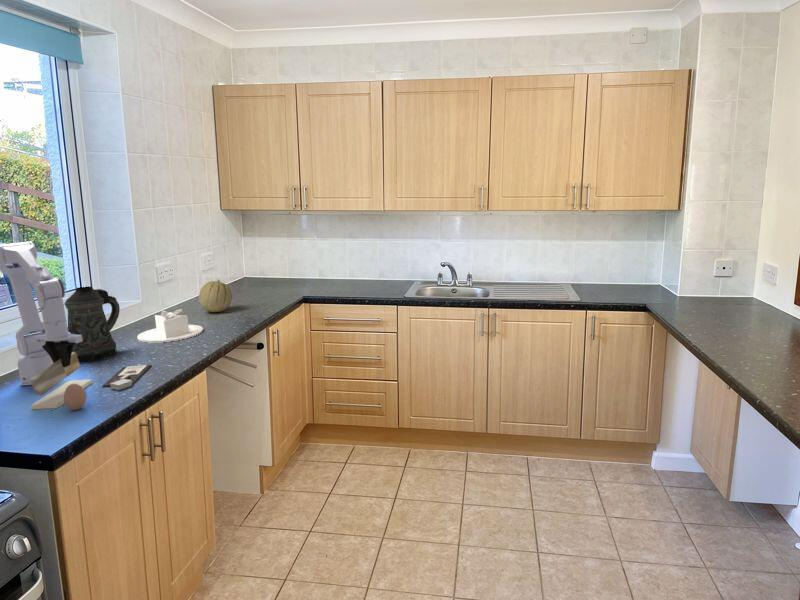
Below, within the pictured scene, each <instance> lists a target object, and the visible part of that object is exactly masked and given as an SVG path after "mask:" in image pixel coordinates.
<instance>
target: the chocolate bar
mask: <svg viewBox="0 0 800 600" xmlns="http://www.w3.org/2000/svg"><path fill="white" fill-rule="evenodd" d="M151 367H152V364H143V365H134V366H130V365H129V366H123V367H122V368H120V369H119V370H118V371H117V372H116V373H115V374H113V375H112V377H111V378H109V379H108V380H107V381H105V382H104V383H103V384H102V385H101V386H102V388H111V386H110V383H113V382H116V381H119V379H120V378H121V377H123V376H125V375H126V374H130V375H131V378H128V379H129V380H132V384H134V383H135V382H136V381H137V380H138V379H139V378H140V377H141V376H142V375H143V374H144V373H145V372H148V371H149V369H151ZM145 374H146V373H145ZM145 374H144V375H145ZM144 375H143V376H144ZM143 376H142V377H143ZM142 377H141V378H142ZM141 378H140V379H141ZM128 379H127V380H128ZM140 379H139V380H140ZM139 380H138V381H139ZM138 381H137V382H138ZM137 382H136V383H137ZM136 383H135V384H136ZM135 384H134V385H135Z"/></svg>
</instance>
